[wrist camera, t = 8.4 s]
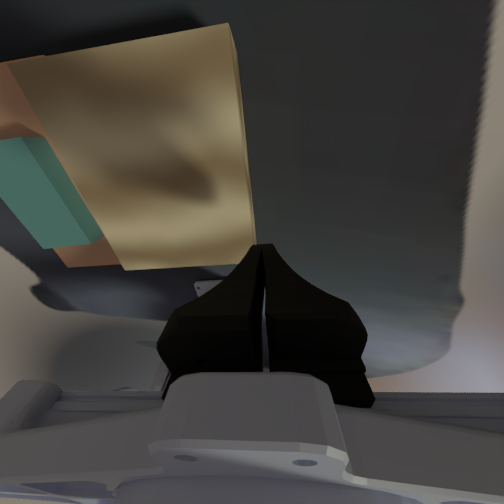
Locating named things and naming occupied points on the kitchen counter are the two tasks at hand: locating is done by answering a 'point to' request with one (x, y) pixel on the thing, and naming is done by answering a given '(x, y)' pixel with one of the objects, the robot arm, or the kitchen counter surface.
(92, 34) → the kitchen counter surface
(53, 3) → the kitchen counter surface
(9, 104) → the terracotta mat
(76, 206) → the teal rectangular block
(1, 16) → the kitchen counter surface
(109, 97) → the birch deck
